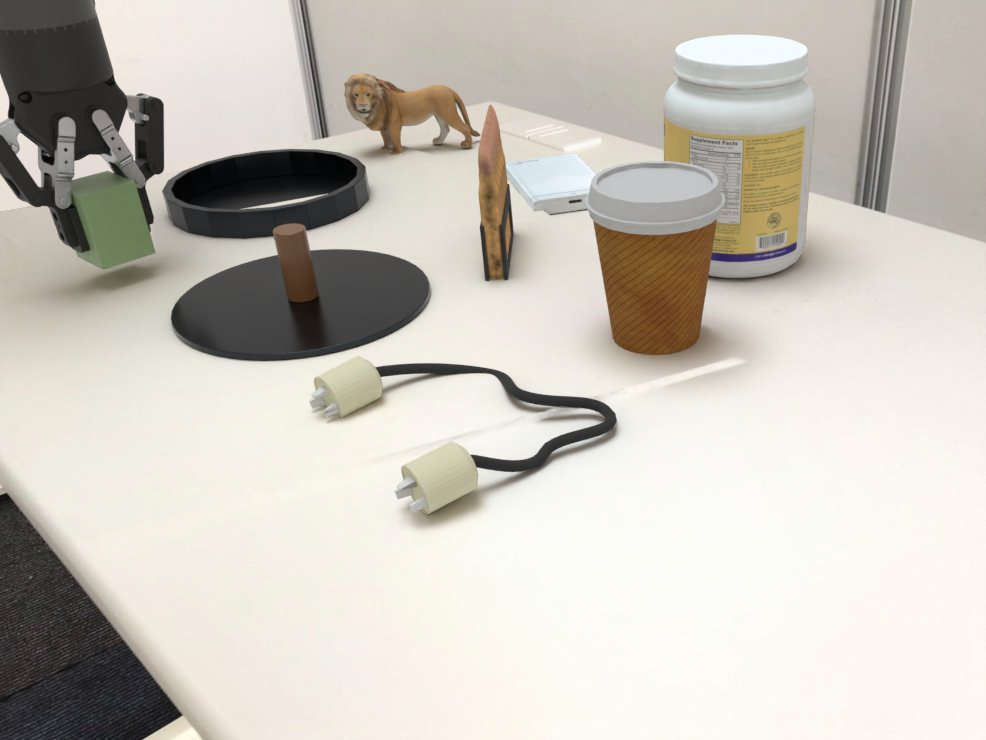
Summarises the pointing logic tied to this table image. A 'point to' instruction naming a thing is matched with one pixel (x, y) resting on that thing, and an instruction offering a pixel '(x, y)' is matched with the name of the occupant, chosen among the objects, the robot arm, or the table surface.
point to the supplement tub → (746, 143)
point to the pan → (266, 192)
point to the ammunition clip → (494, 202)
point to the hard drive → (552, 182)
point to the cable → (450, 464)
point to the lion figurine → (404, 109)
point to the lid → (300, 301)
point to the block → (111, 219)
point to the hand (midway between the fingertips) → (111, 239)
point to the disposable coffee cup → (655, 250)
